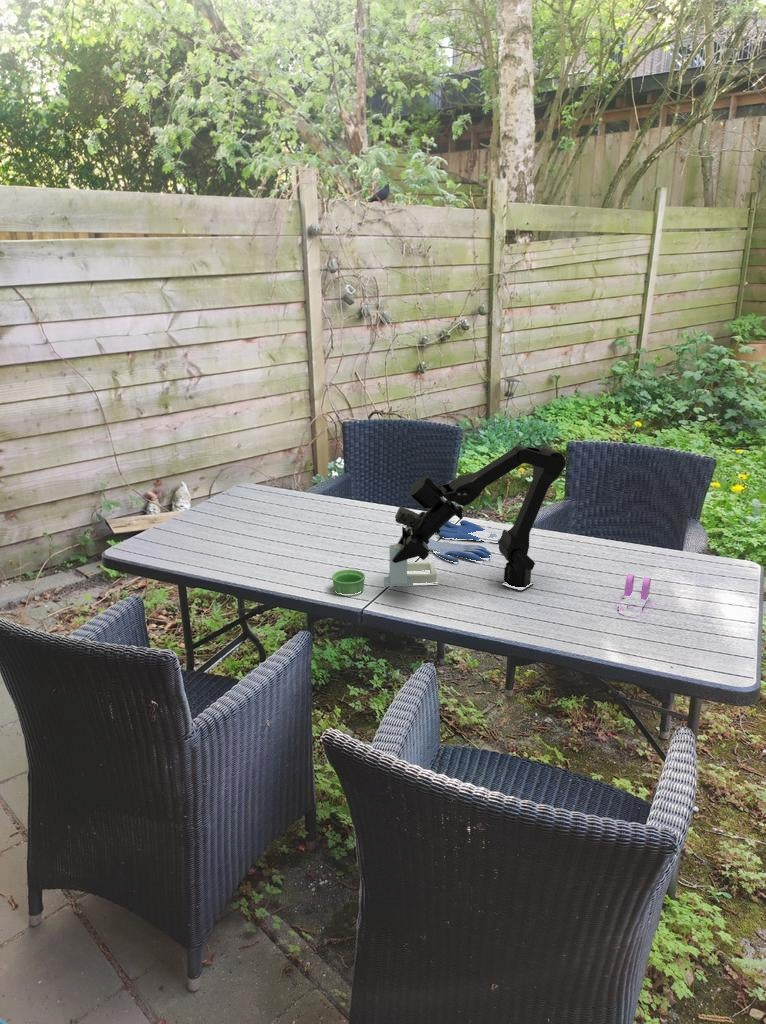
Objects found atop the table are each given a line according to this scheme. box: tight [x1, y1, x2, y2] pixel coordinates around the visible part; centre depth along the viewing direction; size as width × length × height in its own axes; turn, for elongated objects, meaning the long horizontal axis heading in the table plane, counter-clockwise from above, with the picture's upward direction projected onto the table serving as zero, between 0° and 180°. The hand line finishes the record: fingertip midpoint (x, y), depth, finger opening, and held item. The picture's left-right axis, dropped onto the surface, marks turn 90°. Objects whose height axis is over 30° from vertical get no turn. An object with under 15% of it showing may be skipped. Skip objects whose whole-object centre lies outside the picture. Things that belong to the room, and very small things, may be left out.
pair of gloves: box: [424, 519, 500, 562], centre depth 225 cm, size 32×26×4 cm
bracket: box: [620, 573, 652, 611], centre depth 183 cm, size 13×6×7 cm, turn 149°
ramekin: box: [331, 569, 366, 594], centre depth 193 cm, size 9×9×4 cm
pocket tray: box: [407, 561, 438, 583], centre depth 200 cm, size 13×10×4 cm
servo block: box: [383, 543, 414, 587], centre depth 189 cm, size 8×4×11 cm, turn 92°
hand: (393, 558), depth 189 cm, fingers closed on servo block, 4 cm apart
